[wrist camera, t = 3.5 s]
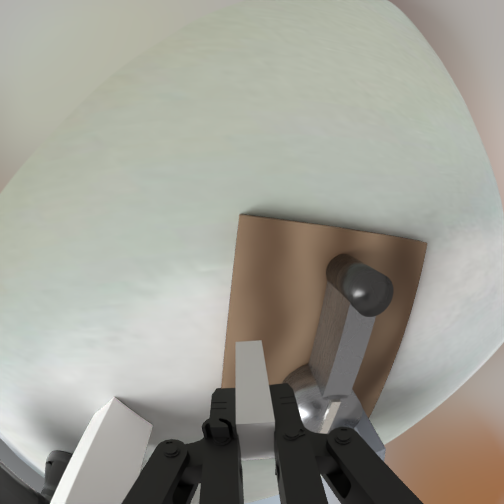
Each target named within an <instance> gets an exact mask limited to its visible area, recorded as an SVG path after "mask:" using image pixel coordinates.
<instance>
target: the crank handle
mask: <svg viewBox="0 0 504 504" xmlns="http://www.w3.org/2000/svg"><path fill="white" fill-rule="evenodd" d="M326 278H327V286H326V291H325V296H324V300H323V305H322V310H321V314H320V319H319V323H318V327H317V331H316V336H315V340H314V344H313V348H312V352H311V356H310V359H309V363H308V364H307V365H304V366H302V367H300V368H297V369H296V370H294V371H293V372H291V373H290V374H289V375H288V376H287V377H286V378H285V379H284V380H283V382H282V383H281V384H283V383H288V384H289V385H290V386H291V387H292V388H293V390H294V394H295V397H296V401H297V405H298V408H299V412H300V415H301V419H302V423H303V425H304V426H305V427H306V428H307V429H308V430H310V431H312V432H315V433H324V434H329V433H330V431H332V430H333V429H335V428H338V427H349V428H352V429H354V428H355V427H356V425H357V424H358V423H359V421H360V419H361V416H362V411H363V409H362V405H361V403H360V401H359V399H358V398H357V396H356V394H355V393H354V391H353V389H352V387H353V384H354V382H355V379H356V377H357V374H358V371H359V368H360V365H361V363H362V360H363V357H364V354H365V351H366V348H367V345H368V342H369V338H370V335H371V332H372V329H373V325H374V322H375V318H376V316H377V315H379V314H381V313H382V312H384V311H385V310H386V309H387V307H388V306H389V305H390V303H391V301H392V298H393V292H394V290H393V284H392V282H391V280H390V279H389V278H388V277H387V276H385V275H384V274H382V273H380V272H378V271H377V270H375V269H373V268H371V267H370V266H368V265H366V264H364V263H363V262H361V261H359V260H357V259H356V258H354V257H352V256H350V255H347V254H341V255H338V256H336V257H334V258H333V259H332V260H331V261H330V262H329V264H328V266H327V269H326Z"/></svg>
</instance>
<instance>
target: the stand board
mask: <svg viewBox="0 0 504 504" xmlns="http://www.w3.org/2000/svg"><path fill="white" fill-rule="evenodd" d="M426 248H427V243H425V242H422V241H419V240H414V239H408V238H402V237H397V236H391V235H385V234H379V233H373V232H367V231H360V230H354V229H347V228H341V227H334V226H327V225H320V224H313V223H306V222H299V221H291V220H284V219H276V218H268V217H260V216H252V215H243V214H240V215H239V223H238V232H237V240H236V249H235V258H234V267H233V275H232V285H231V294H230V303H229V313H228V322H227V332H226V342H225V352H224V363H223V373H222V384H221V388H236V342H243V341H258V340H262V346H263V352H264V359H265V365H266V371H267V377H268V383H269V385H273V384H281V383H282V382H283V380H284V379H285V378H286V377H287V376H288V375H289V374H290V373H291V372H293V371H294V370H296V369H297V368H300V367H302V366H304V365H307V364H308V363H309V359H310V356H311V352H312V348H313V344H314V340H315V336H316V331H317V327H318V323H319V319H320V314H321V310H322V305H323V300H324V296H325V291H326V286H327V278H326V269H327V266H328V264H329V262H330V261H331V260H332V259H333V258H334V257H336V256H338V255H341V254H347V255H350V256H352V257H354V258H356V259H357V260H359V261H361V262H363V263H364V264H366V265H368V266H370V267H371V268H373V269H375V270H377V271H378V272H380V273H382V274H384V275H385V276H387V277H388V278H389V279H390V280H391V282H392V284H393V290H394V292H393V298H392V301H391V303H390V305H389V306H388V307H387V309H386V310H385V311H384V312H382V313H381V314H379V315H377V316H376V318H375V322H374V325H373V329H372V332H371V335H370V338H369V342H368V345H367V348H366V351H365V354H364V357H363V360H362V363H361V365H360V368H359V371H358V374H357V377H356V379H355V382H354V384H353V387H352V389H353V391H354V393H355V394H356V396H357V398H358V399H359V401H360V403H361V405H362V408H363V410H364V411H365V413H366V415H367V417H368V418H369V417H370V415H371V413H372V411H373V409H374V406H375V404H376V402H377V400H378V398H379V396H380V394H381V391H382V389H383V387H384V384H385V382H386V380H387V377H388V375H389V373H390V370H391V368H392V365H393V363H394V360H395V357H396V355H397V352H398V349H399V346H400V344H401V341H402V338H403V335H404V332H405V329H406V326H407V323H408V320H409V316H410V313H411V310H412V306H413V303H414V299H415V295H416V292H417V288H418V284H419V280H420V276H421V271H422V267H423V262H424V258H425V253H426Z"/></svg>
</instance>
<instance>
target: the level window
mask: <svg viewBox="0 0 504 504" xmlns="http://www.w3.org/2000/svg"><path fill="white" fill-rule="evenodd" d="M362 409H363V408H362ZM354 430H355V431H357V432H358V434H359V435H360V436H361V437H362V438H363V439H364V440H365V441H366V443H367V444H368V445H369V446H370V447H371V448H372V449H373V450H374V452H375V453H376V454H377V455H378V456H379V457H380V458H381V459H382V460H383V461H384V458H385V447H384V445H383V443H382V441H381V440H380V438H379V436H378V434H377V432H376V431H375V429H374V427H373V425H372V424H371V422H370V420H369V418H368V417H367V415H366V413H365V411H364V410H363V411H362V416H361V419H360V421H359V423H358V424H357V425H356V427H355V428H354Z"/></svg>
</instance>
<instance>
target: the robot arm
mask: <svg viewBox="0 0 504 504" xmlns="http://www.w3.org/2000/svg"><path fill="white" fill-rule="evenodd" d="M202 431H203V434H204V438H203V439H202V440H200V441H197V442H194V443H190V444H184V443H183V442H181V441H179V440H173V439H170V440H165V441H163V442H161V443H160V444H159V445H158V446H157V447H156V449H155V450H154V452H153V454H152V455H151V457H150V459H149V460H148V462H147V463H146V465H145V467H144V468H143V470H142V472H141V473H140V475H139V476H138V478H137V480H136V481H135V483H134V484H133V486H132V488H131V489H130V491H129V492H128V494H127V495H126V497H125V499H124V500H123V502H122V503H121V504H190V503H191V500H192V498H193V496H194V494H195V491H196V489H197V487H198V484H199V483H201V489H200V502H199V504H244V496H243V474H242V465H241V460H257V459H270V458H275V461H276V470H275V475H277V481H278V488H279V495H280V501H281V504H328V501H327V497H326V494H325V490H324V487H323V483H322V480H321V476H320V474H321V475H322V476H323V478H324V479H325V481H326V482H327V484H328V485H329V487H330V488H331V490H332V491H333V493H334V494H335V496H336V497H337V498H338V500H339V501H340V503H341V504H423V503H422V502H421V501H420V500H419V498H417V496H416V495H415V494H414V493H413V492H412V491H411V490H410V489H409V488H408V487H407V486H406V485H405V484H404V483H403V482H402V481H401V480H400V479H399V478H398V477H397V475H395V473H394V472H393V471H392V470H391V469H390V468H389V467H388V466H387V465H386V464H385V463H384V461H383V460H382V459H381V458H380V457H379V456H378V455H377V454H376V453H375V452H374V450H373V449H372V448H371V447H370V446H369V445H368V444H367V443H366V441H365V440H364V439H363V438H362V437H361V436H360V435H359V434H358V432H357V431H355V430H354V429H352V428H349V427H338V428H335V429H333V430H332V431H330V433H329V434H324V433H315V432H312V431H310V430H308V429H307V428H306V427H305V426H304V425H303V423H302V419H301V415H300V412H299V408H298V405H297V401H296V397H295V394H294V390H293V388H292V387H291V386H290V385H289V384H288V383H283V384H273V385H269V383H268V377H267V371H266V365H265V359H264V352H263V346H262V340H258V341H243V342H236V388H217V389H216V390H215V392H214V393H213V394H212V400H211V410H210V418H209V419H207V420H206V421H205V422H204V423H203V425H202ZM71 457H72V455H71V454H69V453H66V452H62V451H52V452H51V453H50V455H49V456H48V458H47V460H46V467H45V482H44V487H43V490H42V492H41V494H40V493H38V492H37V491H36V490H34V489H33V488H32V487H31V486H29V485H28V484H27V483H26V482H24V481H23V480H22V479H21V478H20V477H19V476H17V475H16V474H15V473H14V472H13V471H11V469H9V468H8V467H7V466H6V465H5V464H4V463H3V462H2V461H1V460H0V504H50V502H51V500H52V498H53V496H54V493H55V491H56V489H57V487H58V485H59V482H60V480H61V478H62V476H63V474H64V472H65V470H66V468H67V466H68V464H69V462H70V460H71Z"/></svg>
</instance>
